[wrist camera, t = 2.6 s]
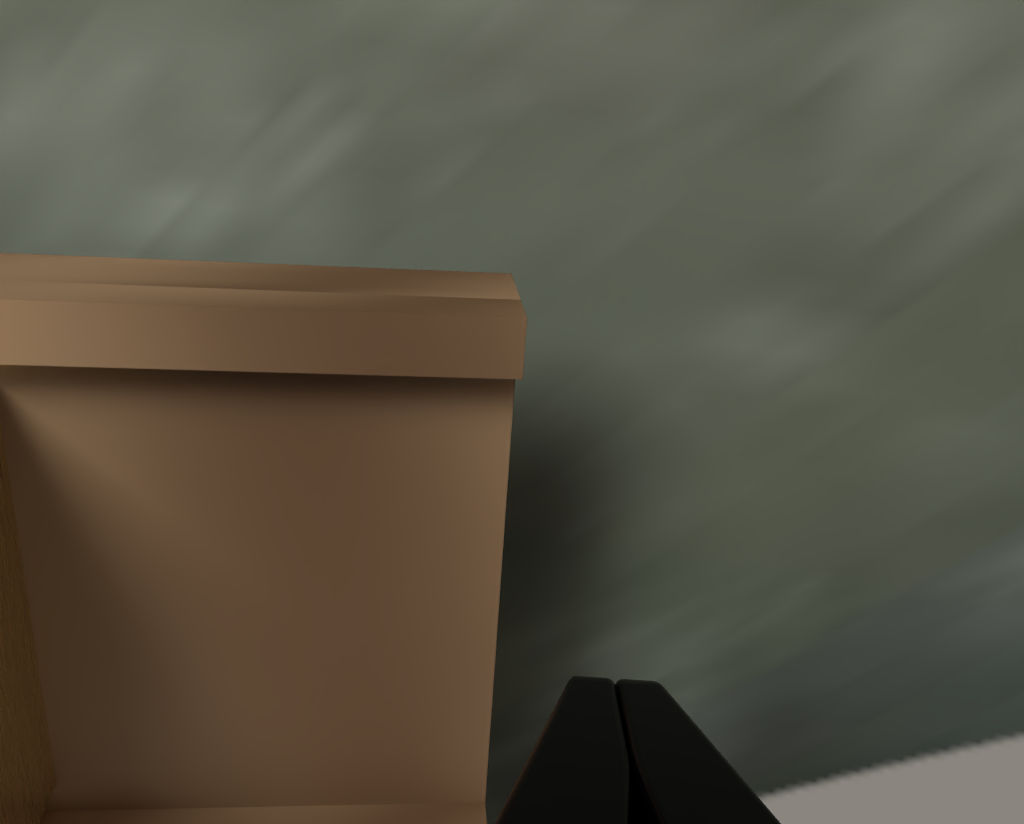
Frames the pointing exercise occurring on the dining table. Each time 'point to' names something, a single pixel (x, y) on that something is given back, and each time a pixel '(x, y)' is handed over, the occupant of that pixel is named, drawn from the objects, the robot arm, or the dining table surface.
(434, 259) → the dining table surface
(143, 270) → the balance beam
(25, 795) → the brass rider
